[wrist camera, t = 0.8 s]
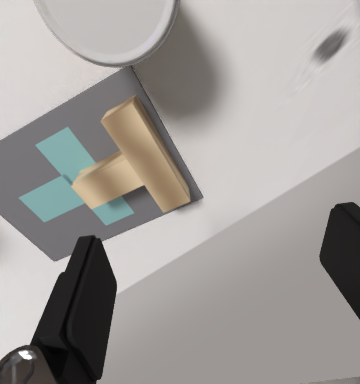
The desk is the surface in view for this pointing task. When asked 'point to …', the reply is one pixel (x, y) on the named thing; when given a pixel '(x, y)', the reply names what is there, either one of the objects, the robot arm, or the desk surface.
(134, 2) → the coffee cup
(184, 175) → the rubber mat
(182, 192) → the pine T block
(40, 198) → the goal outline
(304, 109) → the desk surface
